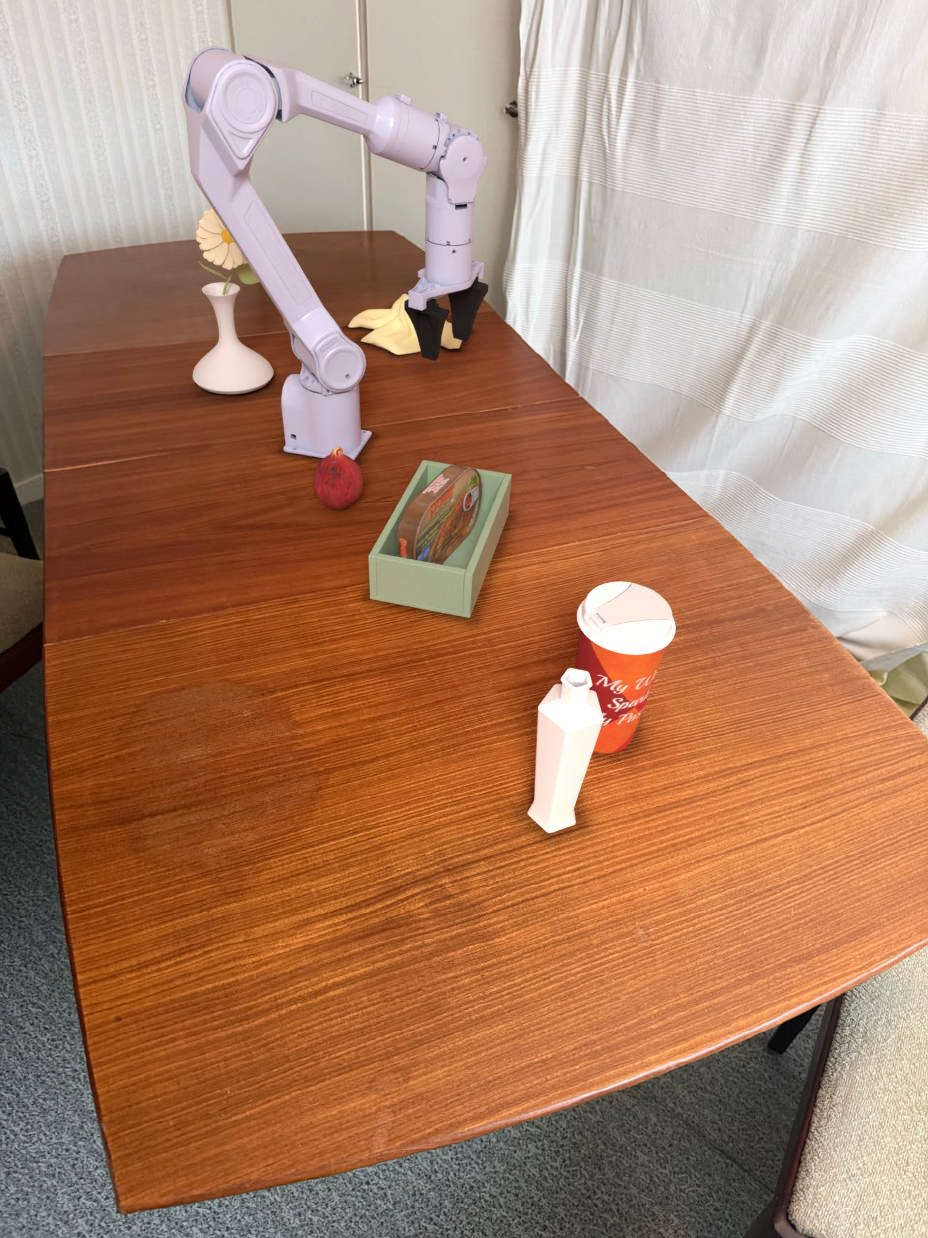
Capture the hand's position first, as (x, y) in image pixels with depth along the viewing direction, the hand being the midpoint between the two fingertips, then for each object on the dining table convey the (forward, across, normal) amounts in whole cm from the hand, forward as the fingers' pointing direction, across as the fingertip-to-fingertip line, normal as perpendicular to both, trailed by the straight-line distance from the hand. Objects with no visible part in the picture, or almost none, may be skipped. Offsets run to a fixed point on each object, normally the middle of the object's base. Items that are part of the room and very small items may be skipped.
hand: (445, 348), depth 108 cm
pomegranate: (+11, +26, +2) cm, 28 cm away
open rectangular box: (+10, +26, +17) cm, 33 cm away
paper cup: (+11, +40, +42) cm, 59 cm away
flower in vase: (+11, +8, -30) cm, 33 cm away
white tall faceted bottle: (+11, +51, +42) cm, 67 cm away
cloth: (+11, -24, -22) cm, 34 cm away
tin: (+10, +26, +16) cm, 33 cm away
